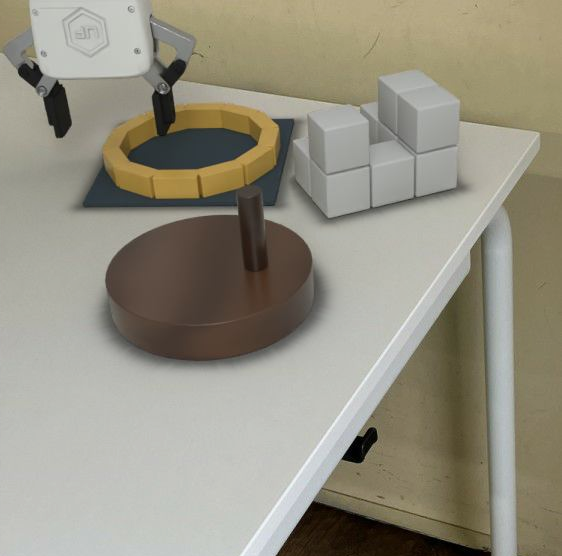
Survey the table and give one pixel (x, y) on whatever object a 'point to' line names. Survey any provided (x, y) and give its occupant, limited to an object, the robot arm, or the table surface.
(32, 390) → the table surface
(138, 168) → the ring
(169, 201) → the mat
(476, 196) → the table surface
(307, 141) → the puzzle cube
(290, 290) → the peg stand
